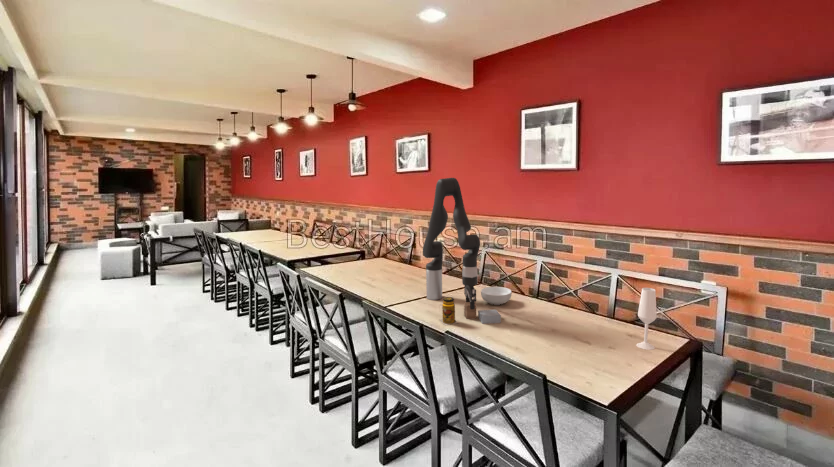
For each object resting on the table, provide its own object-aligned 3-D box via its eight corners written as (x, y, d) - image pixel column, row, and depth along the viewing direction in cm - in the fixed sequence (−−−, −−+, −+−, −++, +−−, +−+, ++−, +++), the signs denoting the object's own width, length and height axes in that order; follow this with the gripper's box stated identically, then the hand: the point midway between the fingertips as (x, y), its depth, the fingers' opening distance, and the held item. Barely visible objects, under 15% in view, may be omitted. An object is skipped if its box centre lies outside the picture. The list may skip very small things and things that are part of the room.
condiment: (444, 325, 200) (444, 301, 198) (438, 319, 208) (438, 296, 206) (458, 323, 202) (458, 299, 200) (452, 317, 210) (451, 294, 208)
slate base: (478, 317, 210) (478, 310, 209) (495, 317, 210) (495, 309, 210) (482, 324, 201) (482, 316, 200) (500, 323, 202) (500, 315, 201)
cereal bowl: (475, 300, 237) (475, 288, 236) (499, 296, 244) (499, 284, 243) (492, 309, 222) (492, 296, 221) (517, 304, 228) (517, 292, 227)
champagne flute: (638, 341, 176) (641, 286, 172) (656, 345, 172) (659, 288, 168) (634, 346, 171) (637, 289, 167) (653, 351, 166) (656, 292, 163)
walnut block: (464, 315, 213) (464, 302, 212) (473, 315, 213) (473, 301, 212) (466, 319, 208) (466, 305, 207) (476, 318, 208) (476, 304, 207)
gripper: (459, 272, 214) (459, 303, 216) (465, 278, 200) (466, 311, 202) (473, 271, 215) (473, 302, 217) (481, 277, 201) (481, 310, 203)
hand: (470, 306), depth 209 cm, fingers open, 8 cm apart
